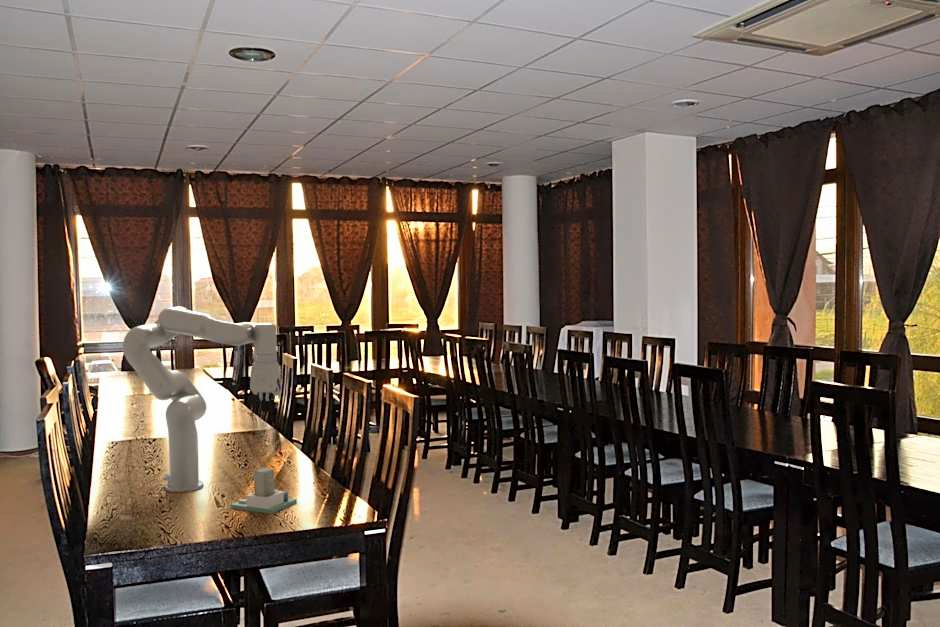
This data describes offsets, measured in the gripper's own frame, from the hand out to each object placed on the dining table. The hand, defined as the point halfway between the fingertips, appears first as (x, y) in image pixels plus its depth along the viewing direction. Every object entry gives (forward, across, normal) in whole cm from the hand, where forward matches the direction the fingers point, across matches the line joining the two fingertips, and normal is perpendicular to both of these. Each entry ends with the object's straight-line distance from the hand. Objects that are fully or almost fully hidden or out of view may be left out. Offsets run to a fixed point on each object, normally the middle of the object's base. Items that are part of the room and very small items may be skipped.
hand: (266, 411), depth 280 cm
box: (+26, +13, -19) cm, 34 cm away
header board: (+27, +11, -16) cm, 34 cm away
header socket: (+26, +13, -18) cm, 34 cm away
